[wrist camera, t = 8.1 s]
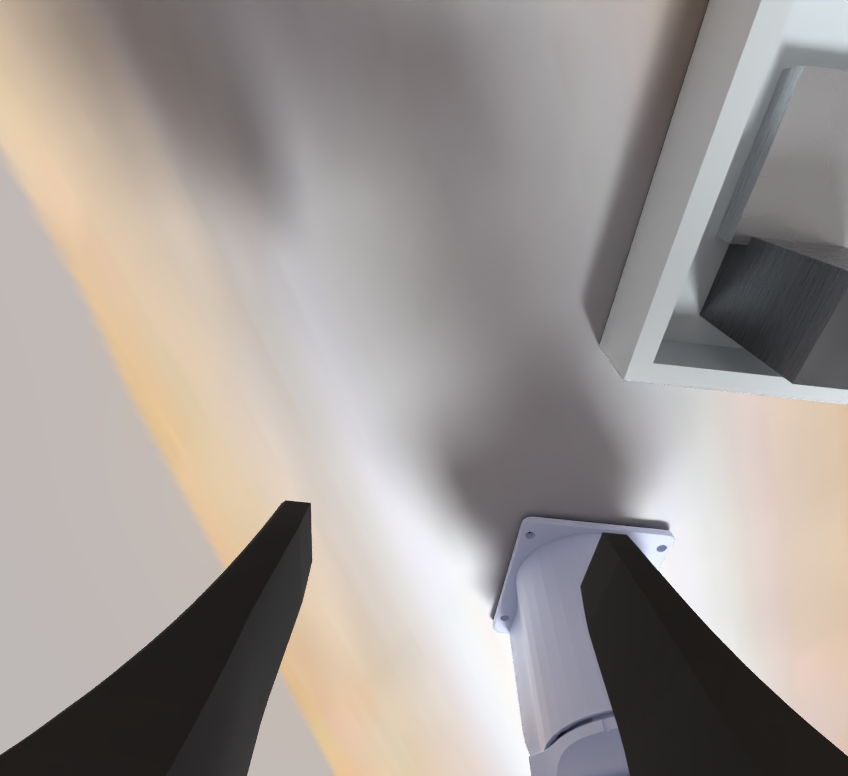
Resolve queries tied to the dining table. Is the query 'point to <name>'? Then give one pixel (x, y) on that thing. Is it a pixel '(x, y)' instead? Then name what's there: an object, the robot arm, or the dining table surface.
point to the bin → (712, 198)
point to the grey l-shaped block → (791, 235)
